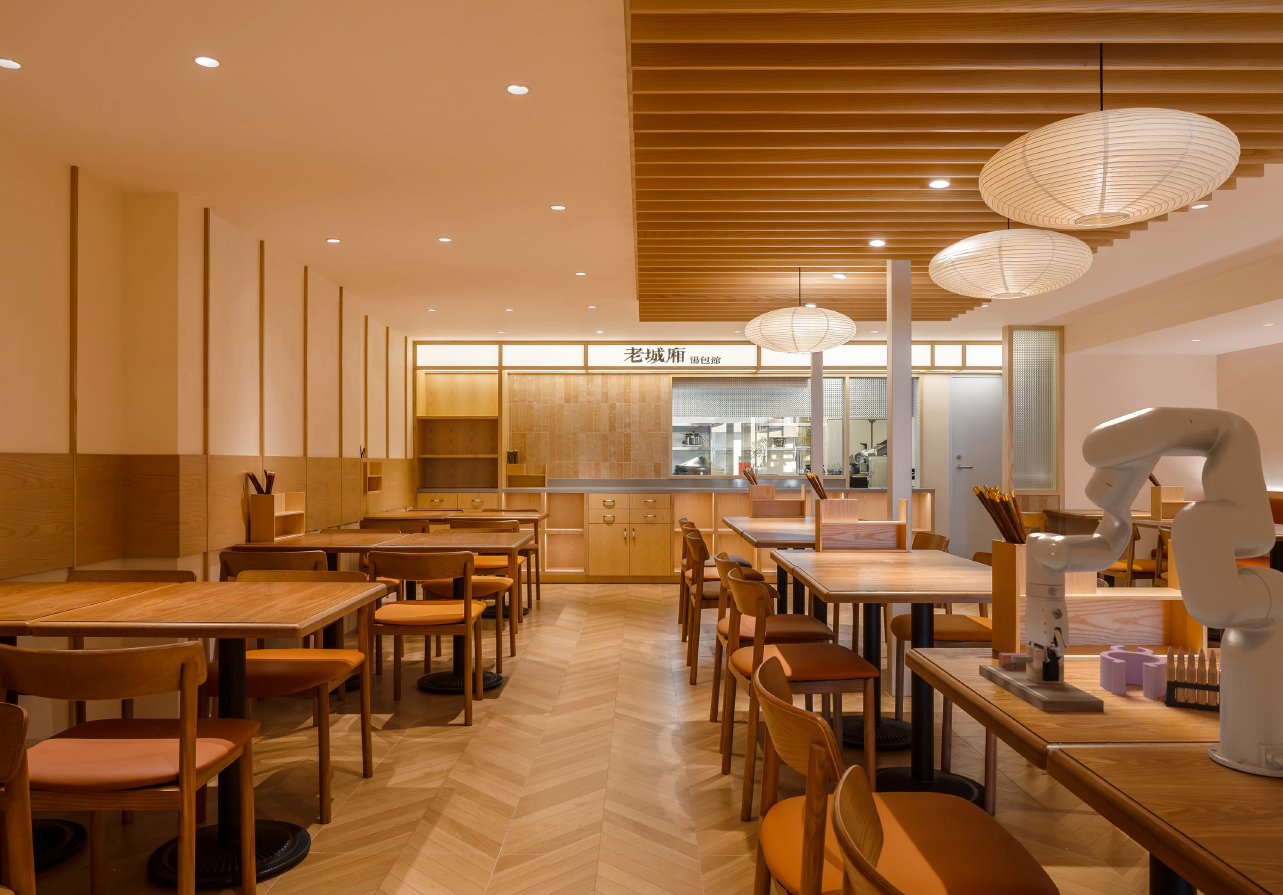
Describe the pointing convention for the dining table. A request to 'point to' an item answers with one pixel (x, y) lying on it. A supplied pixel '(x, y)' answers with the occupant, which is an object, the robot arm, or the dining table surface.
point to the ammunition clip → (1192, 682)
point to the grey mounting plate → (1039, 688)
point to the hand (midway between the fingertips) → (1044, 676)
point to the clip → (1133, 671)
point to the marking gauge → (1037, 664)
